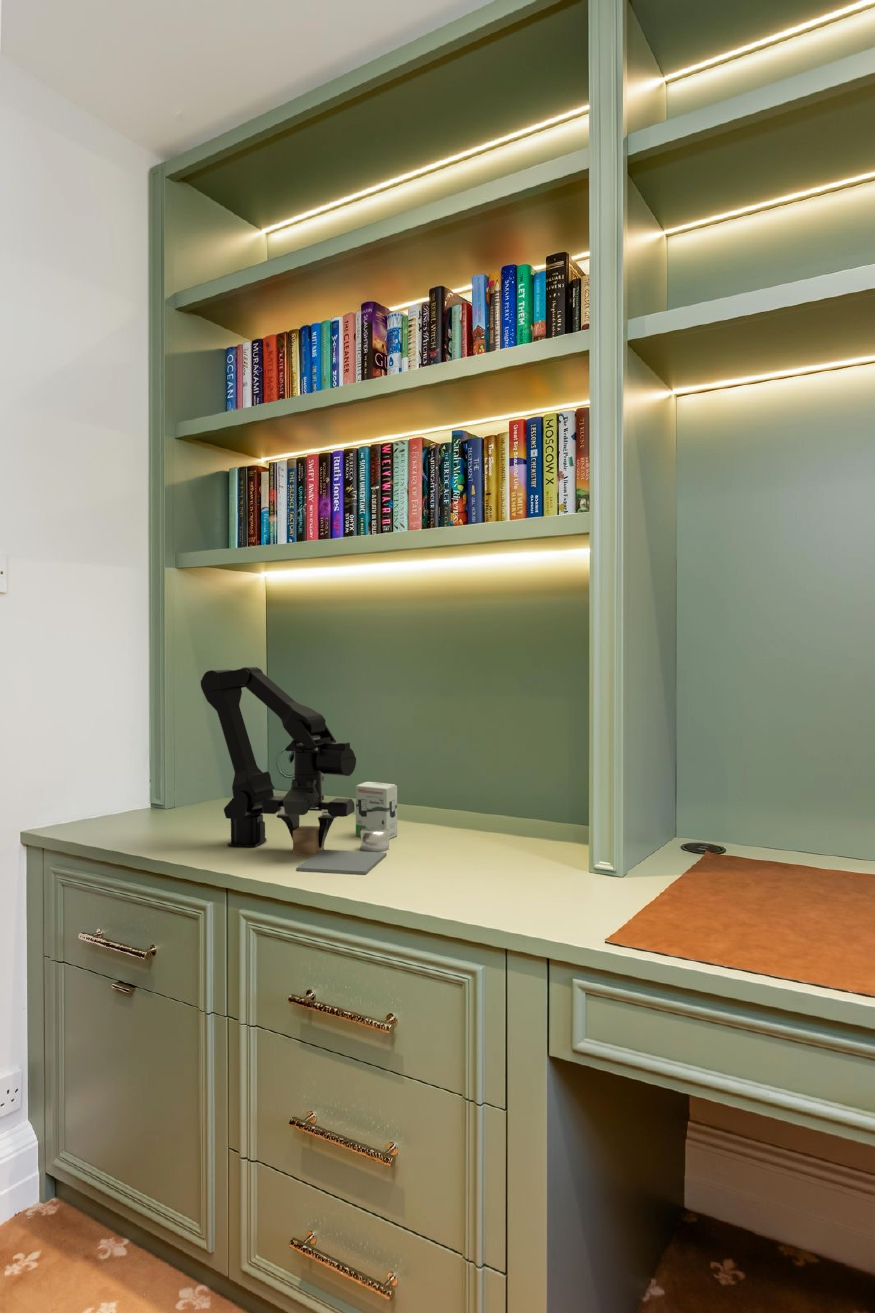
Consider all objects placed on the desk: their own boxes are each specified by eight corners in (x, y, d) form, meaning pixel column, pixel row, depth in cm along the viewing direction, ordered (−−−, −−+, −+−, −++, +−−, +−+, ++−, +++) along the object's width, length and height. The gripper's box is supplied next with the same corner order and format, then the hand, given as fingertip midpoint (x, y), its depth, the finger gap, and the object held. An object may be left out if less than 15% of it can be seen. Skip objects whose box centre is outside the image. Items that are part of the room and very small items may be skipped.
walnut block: (293, 854, 166) (292, 830, 166) (302, 848, 171) (301, 825, 171) (315, 855, 165) (315, 831, 165) (324, 849, 170) (324, 826, 170)
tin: (357, 852, 168) (356, 833, 168) (365, 845, 174) (365, 826, 174) (384, 853, 166) (384, 834, 166) (392, 846, 172) (392, 828, 172)
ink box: (354, 836, 181) (353, 784, 181) (366, 832, 186) (365, 781, 186) (387, 840, 177) (386, 787, 177) (398, 835, 182) (398, 783, 181)
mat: (296, 870, 154) (296, 867, 154) (322, 852, 167) (322, 849, 167) (365, 874, 151) (365, 871, 151) (386, 855, 164) (386, 852, 164)
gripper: (249, 777, 162) (250, 854, 162) (337, 780, 158) (337, 859, 158) (272, 769, 173) (273, 841, 173) (354, 771, 169) (355, 845, 169)
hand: (308, 846), depth 168 cm, fingers closed on walnut block, 5 cm apart
